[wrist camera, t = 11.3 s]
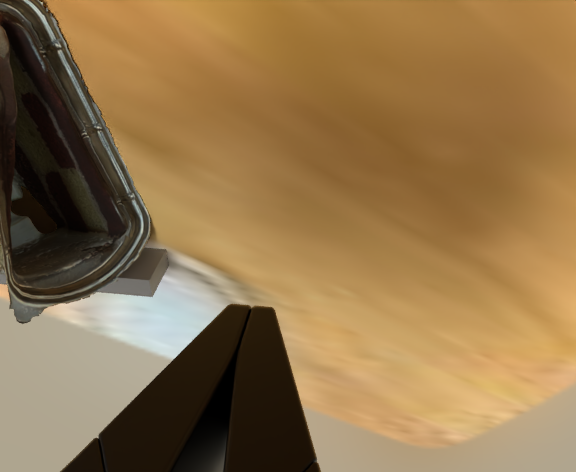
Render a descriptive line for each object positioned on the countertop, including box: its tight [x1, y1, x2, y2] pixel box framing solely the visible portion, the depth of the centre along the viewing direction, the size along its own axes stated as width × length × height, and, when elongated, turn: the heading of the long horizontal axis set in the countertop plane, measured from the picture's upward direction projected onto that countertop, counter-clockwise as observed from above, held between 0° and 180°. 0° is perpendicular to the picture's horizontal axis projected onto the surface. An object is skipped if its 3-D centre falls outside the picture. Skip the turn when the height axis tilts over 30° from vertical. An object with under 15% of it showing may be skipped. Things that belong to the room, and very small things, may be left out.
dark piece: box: [0, 0, 151, 324], centre depth 21 cm, size 10×7×12 cm
